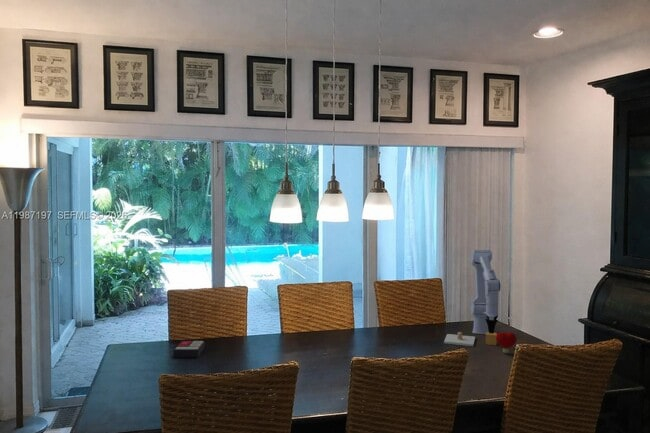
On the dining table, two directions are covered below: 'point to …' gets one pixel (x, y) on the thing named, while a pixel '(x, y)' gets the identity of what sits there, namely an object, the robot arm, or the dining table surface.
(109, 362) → the dining table surface
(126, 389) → the dining table surface
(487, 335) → the tilted mustard cube
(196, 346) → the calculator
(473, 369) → the dining table surface
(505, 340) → the dark red rounded lump
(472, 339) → the plate
